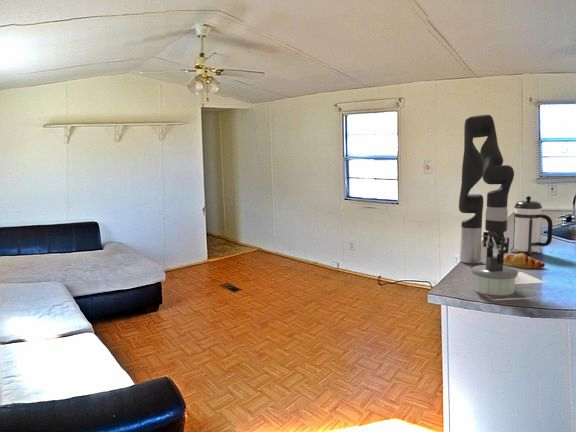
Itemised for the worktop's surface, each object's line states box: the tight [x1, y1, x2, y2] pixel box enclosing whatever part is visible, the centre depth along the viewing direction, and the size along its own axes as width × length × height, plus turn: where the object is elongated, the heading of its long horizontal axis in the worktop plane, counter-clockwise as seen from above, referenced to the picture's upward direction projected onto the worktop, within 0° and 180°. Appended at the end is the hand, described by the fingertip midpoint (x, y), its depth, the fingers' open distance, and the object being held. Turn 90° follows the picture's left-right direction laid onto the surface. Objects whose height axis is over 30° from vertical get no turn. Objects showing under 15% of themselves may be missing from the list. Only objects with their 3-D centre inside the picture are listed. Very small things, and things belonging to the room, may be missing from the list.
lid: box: [471, 255, 518, 279], centre depth 166 cm, size 16×16×6 cm
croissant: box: [503, 252, 546, 269], centre depth 201 cm, size 21×10×8 cm
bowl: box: [473, 274, 516, 296], centre depth 166 cm, size 14×14×7 cm
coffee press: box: [510, 195, 553, 257], centre depth 225 cm, size 17×16×30 cm
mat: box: [515, 271, 547, 285], centre depth 181 cm, size 16×16×1 cm
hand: (494, 261), depth 165 cm, fingers open, 6 cm apart
